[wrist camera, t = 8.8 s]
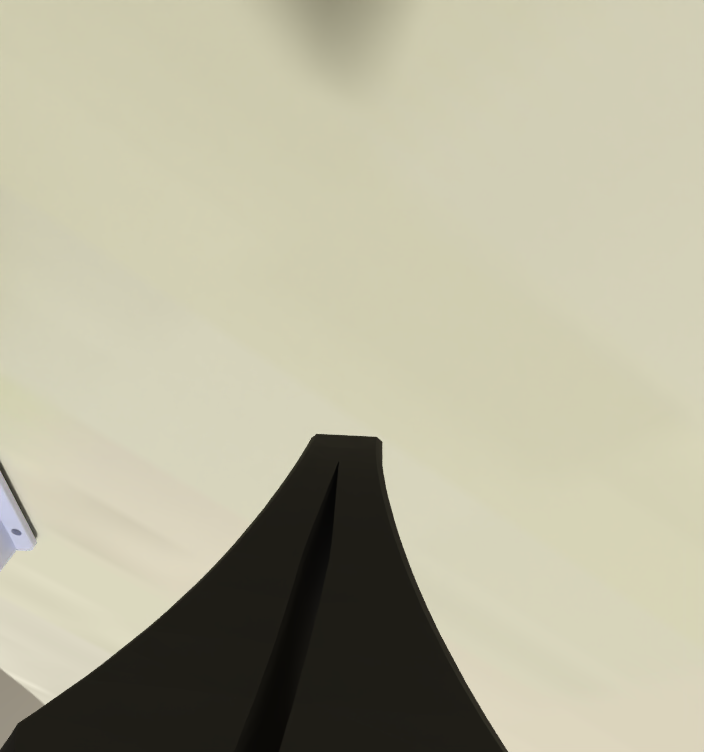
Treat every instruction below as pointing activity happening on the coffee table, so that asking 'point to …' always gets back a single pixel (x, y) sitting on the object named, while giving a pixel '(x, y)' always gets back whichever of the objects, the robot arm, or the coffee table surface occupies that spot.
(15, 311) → the coffee table surface
